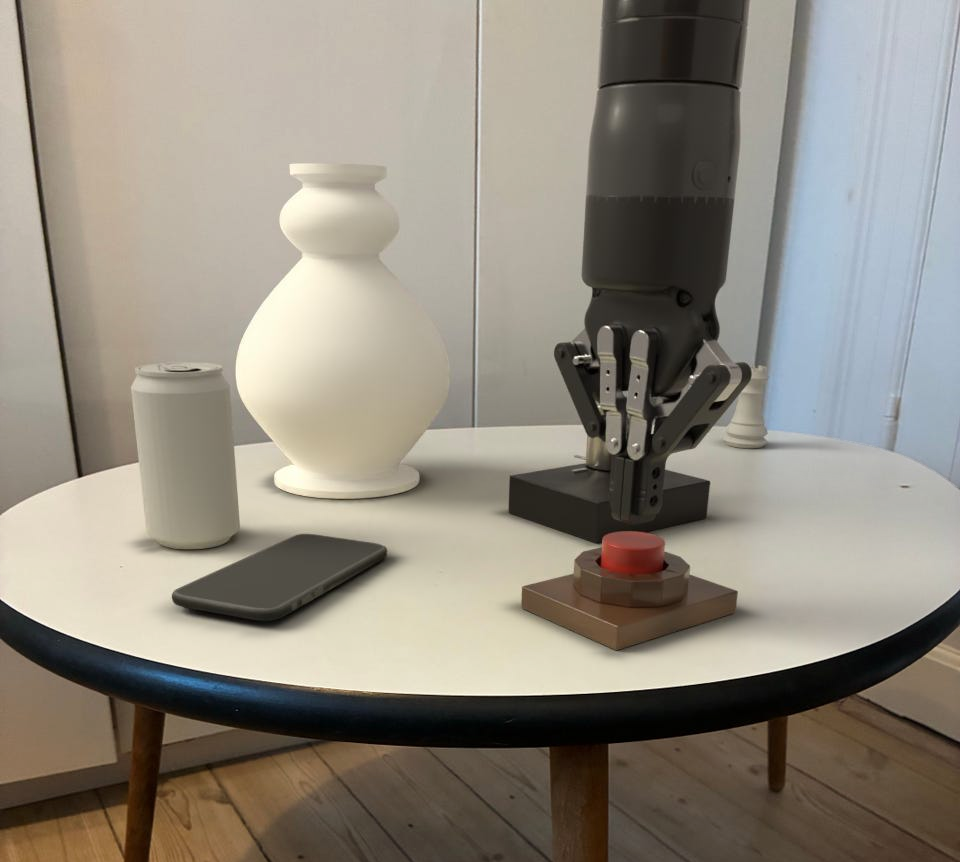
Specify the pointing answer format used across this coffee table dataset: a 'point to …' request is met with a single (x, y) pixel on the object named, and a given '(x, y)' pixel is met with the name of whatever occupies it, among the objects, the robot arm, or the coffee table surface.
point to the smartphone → (280, 577)
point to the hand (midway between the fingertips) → (633, 519)
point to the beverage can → (186, 453)
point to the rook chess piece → (749, 414)
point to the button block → (627, 601)
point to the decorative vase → (342, 345)
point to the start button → (632, 552)
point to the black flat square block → (598, 501)
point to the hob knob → (598, 451)
